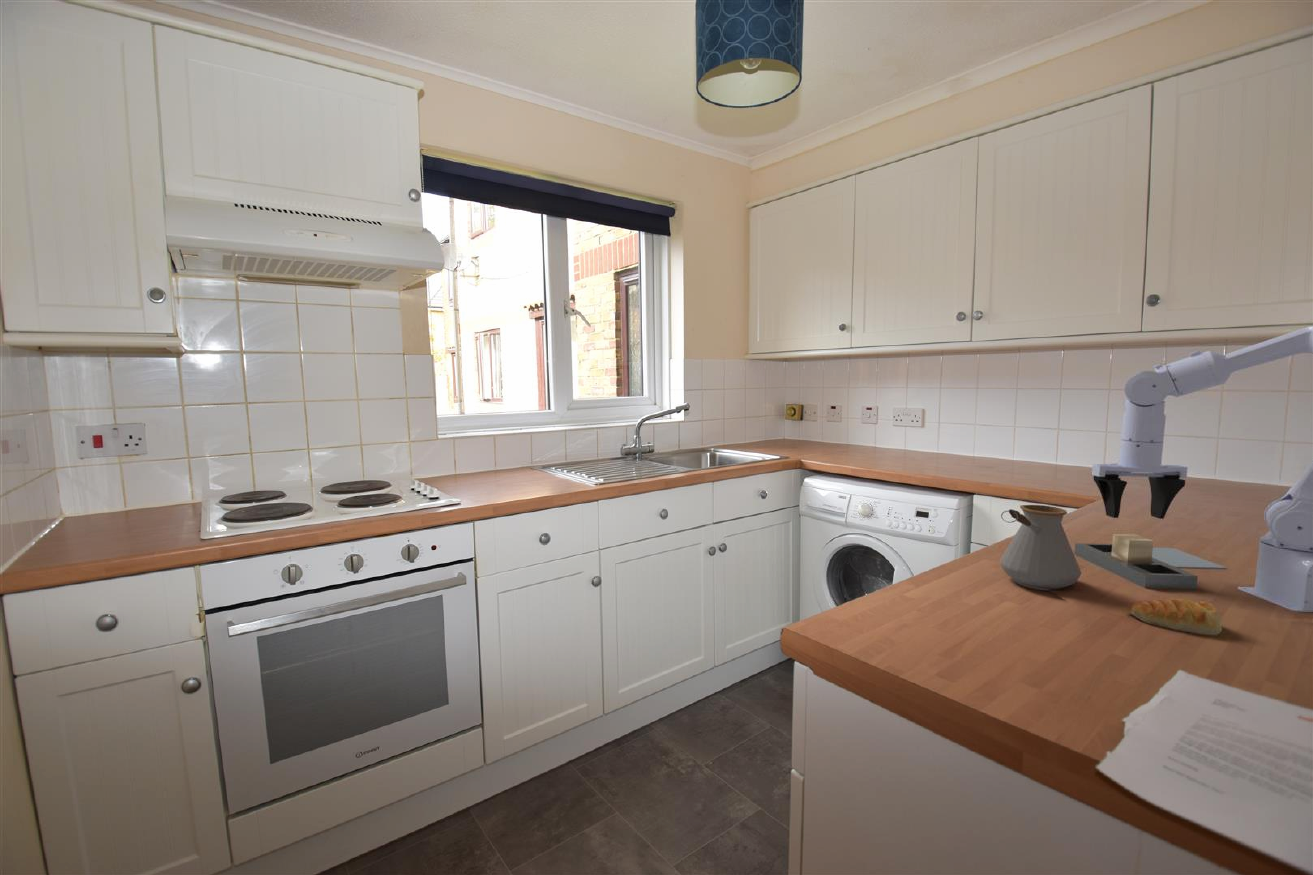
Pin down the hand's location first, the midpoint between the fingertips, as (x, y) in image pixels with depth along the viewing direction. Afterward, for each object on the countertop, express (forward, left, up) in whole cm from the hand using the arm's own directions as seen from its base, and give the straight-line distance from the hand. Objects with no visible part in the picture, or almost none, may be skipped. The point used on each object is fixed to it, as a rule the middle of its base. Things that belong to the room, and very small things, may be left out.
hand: (1134, 517), depth 104 cm
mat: (+8, -12, -10) cm, 18 cm away
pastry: (-22, +9, -11) cm, 26 cm away
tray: (0, 0, -10) cm, 10 cm away
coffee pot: (-10, +23, -10) cm, 27 cm away
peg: (0, 0, -10) cm, 10 cm away
